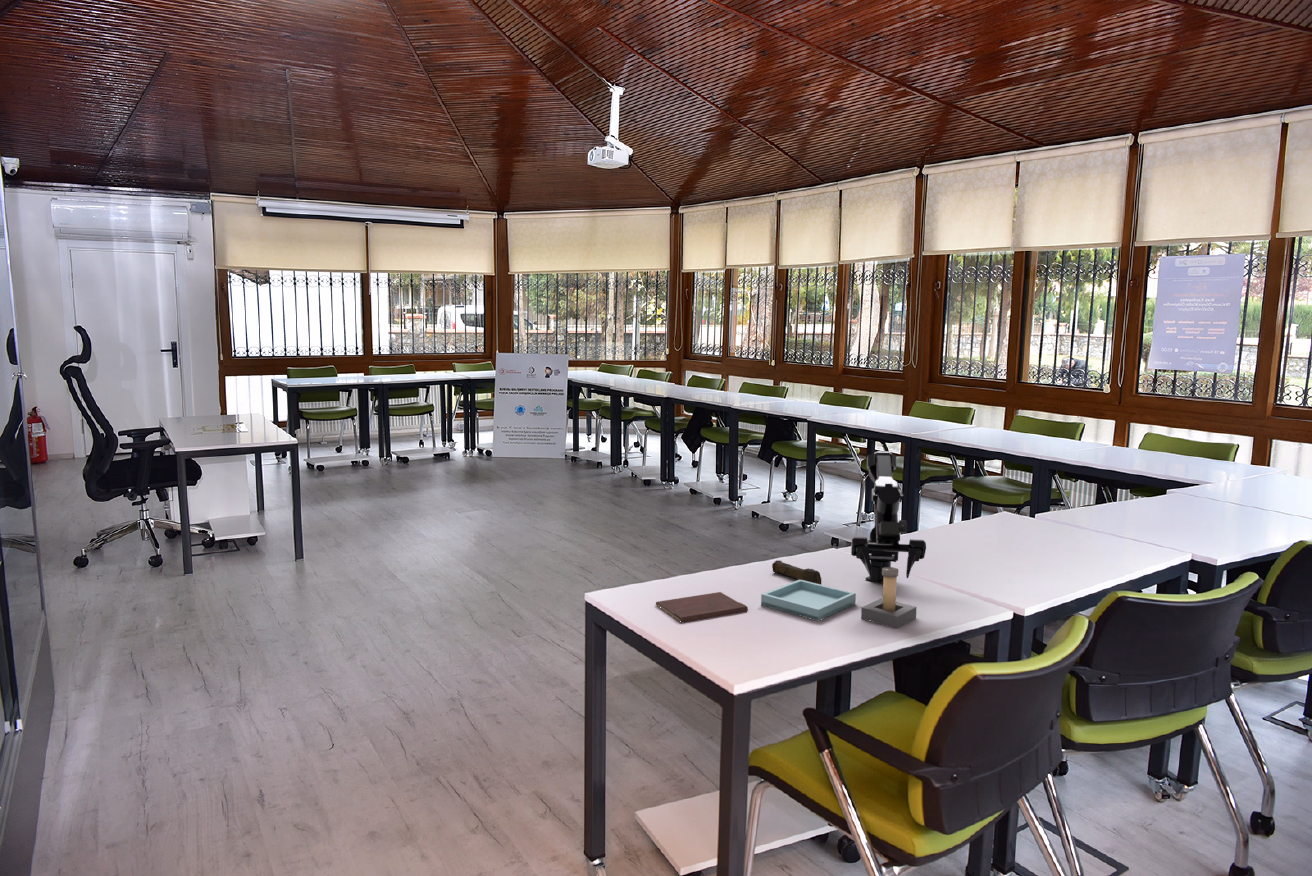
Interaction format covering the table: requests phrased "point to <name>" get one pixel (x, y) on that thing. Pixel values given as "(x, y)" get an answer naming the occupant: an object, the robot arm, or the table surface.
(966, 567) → the table surface
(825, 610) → the parts tray
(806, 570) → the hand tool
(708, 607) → the notebook
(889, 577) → the fuse
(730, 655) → the table surface
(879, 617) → the socket block
